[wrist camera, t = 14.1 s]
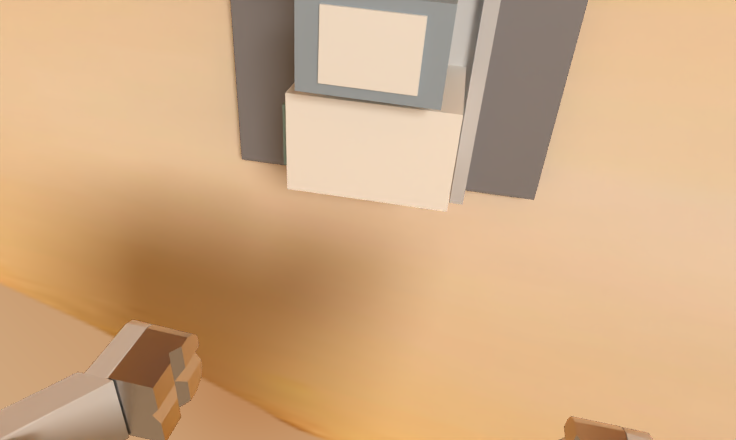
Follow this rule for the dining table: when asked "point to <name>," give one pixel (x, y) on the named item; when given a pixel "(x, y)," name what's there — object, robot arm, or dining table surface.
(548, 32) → the rail plate
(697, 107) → the dining table surface
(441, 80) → the block
